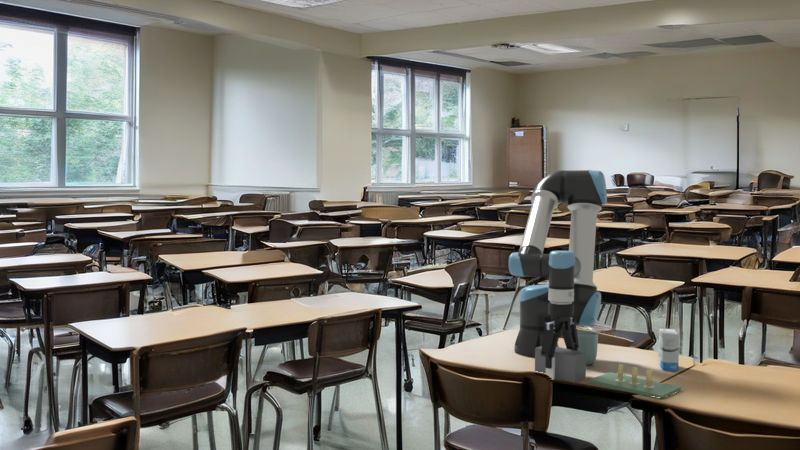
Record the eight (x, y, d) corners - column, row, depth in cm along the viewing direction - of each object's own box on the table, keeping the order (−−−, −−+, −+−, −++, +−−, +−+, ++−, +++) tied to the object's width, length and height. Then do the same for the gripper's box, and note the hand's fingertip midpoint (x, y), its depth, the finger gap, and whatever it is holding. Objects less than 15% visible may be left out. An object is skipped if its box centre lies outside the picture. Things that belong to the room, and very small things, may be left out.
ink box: (678, 371, 221) (679, 334, 220) (662, 370, 222) (663, 333, 221) (673, 364, 229) (674, 328, 229) (657, 364, 230) (658, 328, 230)
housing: (534, 373, 218) (535, 347, 217) (545, 370, 222) (546, 344, 221) (574, 382, 208) (575, 355, 207) (585, 378, 212) (586, 352, 211)
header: (589, 382, 207) (589, 364, 207) (610, 375, 216) (610, 357, 216) (661, 399, 192) (662, 379, 192) (681, 390, 200) (681, 371, 200)
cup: (601, 363, 230) (601, 333, 230) (589, 368, 225) (590, 336, 224) (579, 359, 236) (580, 329, 235) (567, 363, 230) (568, 333, 229)
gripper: (550, 308, 203) (549, 385, 204) (591, 299, 218) (590, 371, 220) (528, 304, 208) (527, 379, 209) (570, 296, 224) (569, 366, 225)
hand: (559, 375), depth 215 cm, fingers open, 10 cm apart
